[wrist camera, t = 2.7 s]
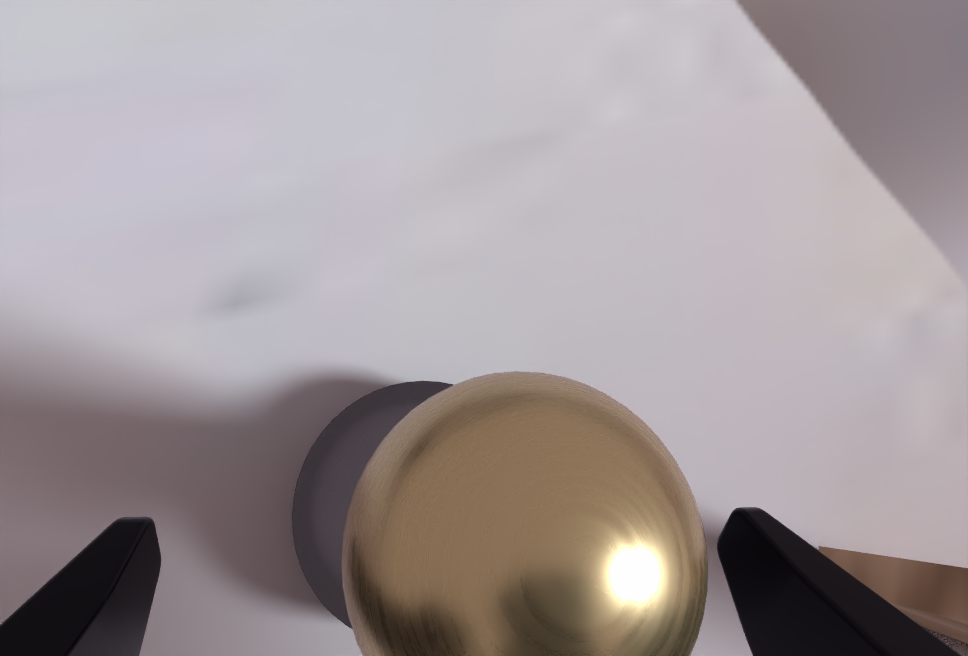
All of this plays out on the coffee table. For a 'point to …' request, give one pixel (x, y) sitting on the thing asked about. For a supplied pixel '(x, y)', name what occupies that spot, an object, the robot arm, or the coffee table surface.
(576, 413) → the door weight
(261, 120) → the coffee table surface
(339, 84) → the coffee table surface
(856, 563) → the door
